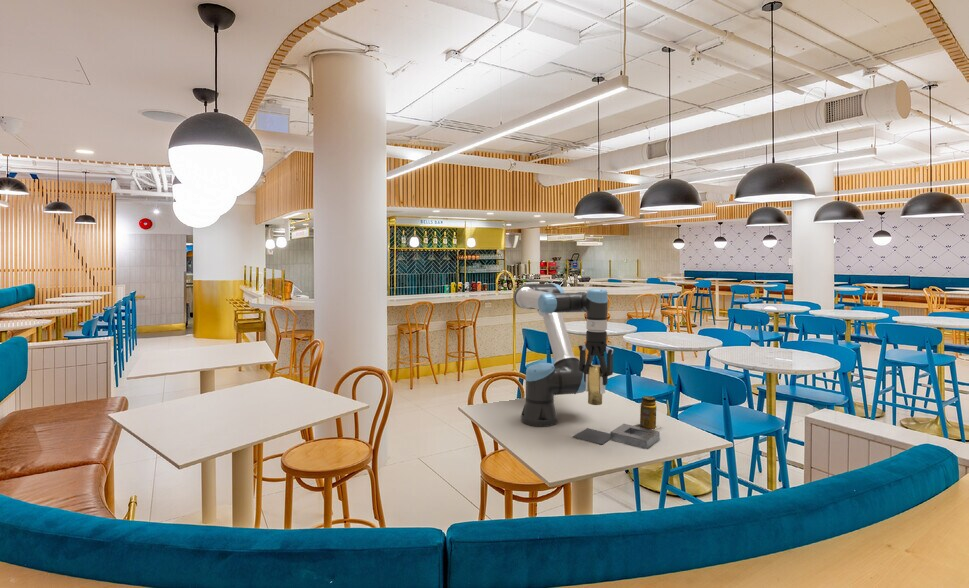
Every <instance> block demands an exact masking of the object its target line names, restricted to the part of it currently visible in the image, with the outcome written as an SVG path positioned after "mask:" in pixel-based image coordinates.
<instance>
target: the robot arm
mask: <svg viewBox="0 0 969 588" xmlns="http://www.w3.org/2000/svg"><path fill="white" fill-rule="evenodd" d="M512 299H513V302H514V303H515V305H516V306H517V307H519V308H520V309H521V308H522V309H526V310H537V312H538V315H539V316H541V317H543V318H542V319H543V322H544V325H545V330H546V333H547V338H548V340H549V345H550V347H551V352H552V355H553V359H554V362H553V363H550V362H539V363H534V364H531V365H529V366H528V367H527V368H526V369H525V370H526V371H525V401H524V402H525V403H524V405H523V408H522V411H521V414H520V421H521V423H523V424H525V425H528V426H533V427H550V426H551V427H552V426H554V425H557V423H558V421H559V418H558V417H559V415H558V413H557V409H556V405H555V399H554V398H555V396H562V395H576V394H582V393H584V392H587V393H588V376H589V365H593V360H594V357H597V359H598V361H599V365H600V367H601V372H602V376H601V377H600V394H602V395H604V394H606V386H607V385H608V378H609V377H610V376H612V375H613V374H614V373H613V372H614V368H613V367H614V353H615V348H611V347H610V346H608V344H607V341H608V340H607V338H608V332H607V330H608V307H609V305H608V304H609V302H608V301H609V298H608V290H607V289H603V288H588V289H587V291H586V292H585V291H578V292H565V291H564V289H563V287H562V286H561V285H560V284H557V283H551V282H549V283H528V284H523V285H521V286H518V288H516V289H515V290H514V292H513V298H512ZM563 313H586V324H585V325H586V327H585V328H586V332H585V340H586V342H585V343H584V344H581V345H579V346H578V350H579V357H576V356H575V354H574V351H573V347H572V345H571V341H570V336H569V334H568V330H567V327H566V324H565V320H564V317H563ZM586 350H587V351H586ZM586 352H587V355H586ZM605 352H606V354H607V355H605ZM586 356H587V357H586Z"/></svg>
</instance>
